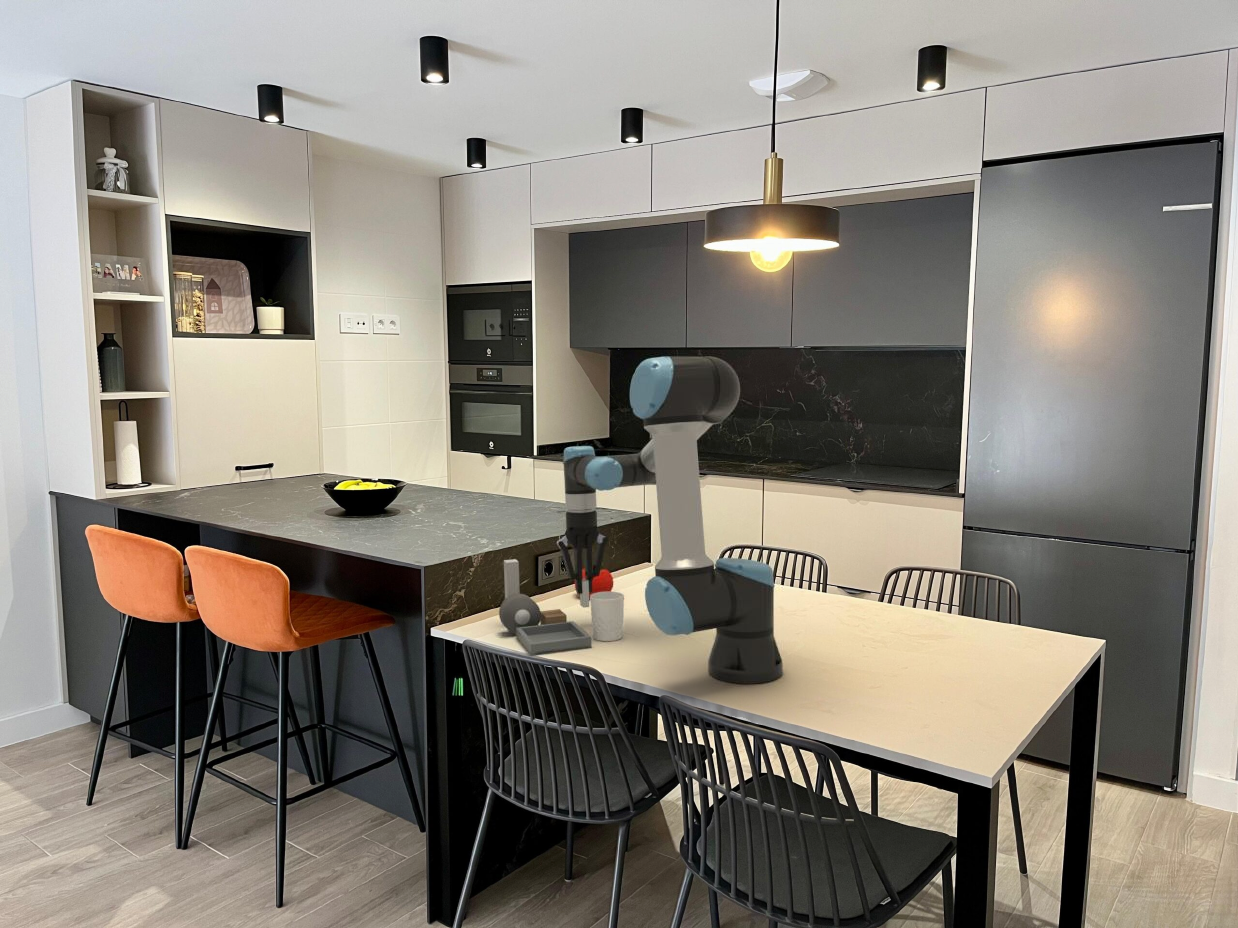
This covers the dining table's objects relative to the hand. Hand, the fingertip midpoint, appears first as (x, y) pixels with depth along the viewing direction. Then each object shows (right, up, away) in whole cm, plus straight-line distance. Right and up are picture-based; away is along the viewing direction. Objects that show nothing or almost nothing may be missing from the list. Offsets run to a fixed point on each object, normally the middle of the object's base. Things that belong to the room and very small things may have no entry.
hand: (584, 605), depth 221 cm
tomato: (+1, -2, +29) cm, 29 cm away
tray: (-7, -6, -13) cm, 16 cm away
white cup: (+6, -6, -9) cm, 13 cm away
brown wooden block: (-8, -5, -1) cm, 9 cm away
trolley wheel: (-16, -5, -1) cm, 17 cm away
